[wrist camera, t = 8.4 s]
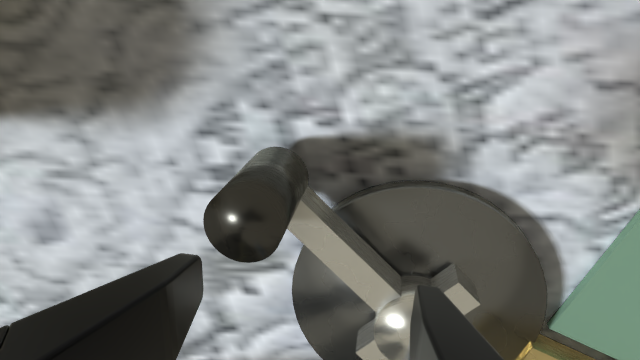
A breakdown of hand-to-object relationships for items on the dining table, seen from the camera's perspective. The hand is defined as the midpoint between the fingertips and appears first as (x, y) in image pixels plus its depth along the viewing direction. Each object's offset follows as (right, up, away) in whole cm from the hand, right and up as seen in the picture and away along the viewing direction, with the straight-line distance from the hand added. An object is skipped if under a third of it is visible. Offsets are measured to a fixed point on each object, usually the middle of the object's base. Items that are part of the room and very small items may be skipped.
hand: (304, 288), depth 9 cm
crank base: (+5, -3, +13) cm, 15 cm away
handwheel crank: (+2, -1, +12) cm, 12 cm away
